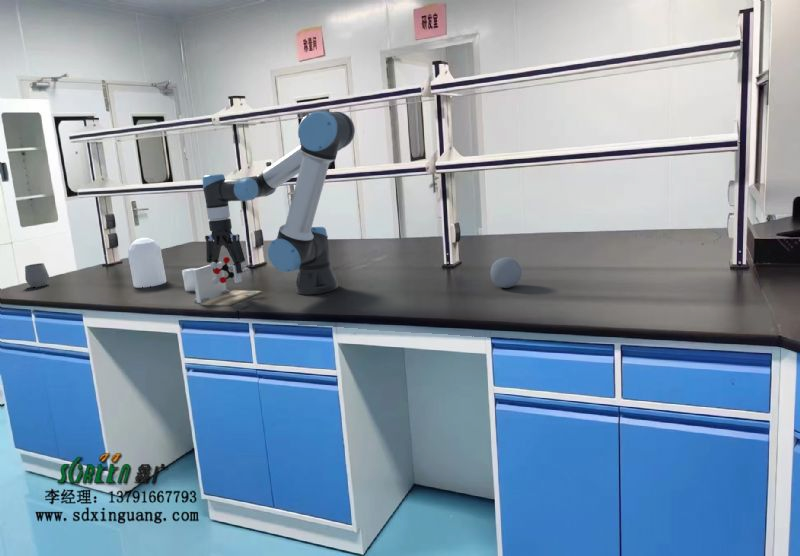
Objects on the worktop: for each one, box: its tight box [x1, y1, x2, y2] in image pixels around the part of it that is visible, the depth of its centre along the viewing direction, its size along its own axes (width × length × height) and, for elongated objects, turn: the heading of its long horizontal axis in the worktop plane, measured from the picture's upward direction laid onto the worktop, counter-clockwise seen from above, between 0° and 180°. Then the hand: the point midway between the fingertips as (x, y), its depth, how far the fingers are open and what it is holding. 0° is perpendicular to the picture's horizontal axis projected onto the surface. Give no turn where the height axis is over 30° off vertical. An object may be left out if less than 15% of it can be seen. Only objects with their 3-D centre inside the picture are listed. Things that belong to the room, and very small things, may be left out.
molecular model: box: [209, 256, 251, 284], centre depth 220 cm, size 16×8×10 cm, turn 149°
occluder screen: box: [192, 261, 231, 304], centre depth 225 cm, size 5×14×12 cm, turn 154°
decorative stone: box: [489, 256, 522, 289], centre depth 200 cm, size 10×10×10 cm
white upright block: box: [181, 267, 199, 292], centre depth 243 cm, size 6×6×8 cm
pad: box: [199, 289, 263, 307], centre depth 222 cm, size 13×18×1 cm
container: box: [127, 237, 167, 289], centre depth 262 cm, size 14×13×20 cm
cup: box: [24, 262, 50, 288], centre depth 281 cm, size 10×9×10 cm
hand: (228, 281), depth 221 cm, fingers closed on molecular model, 8 cm apart
